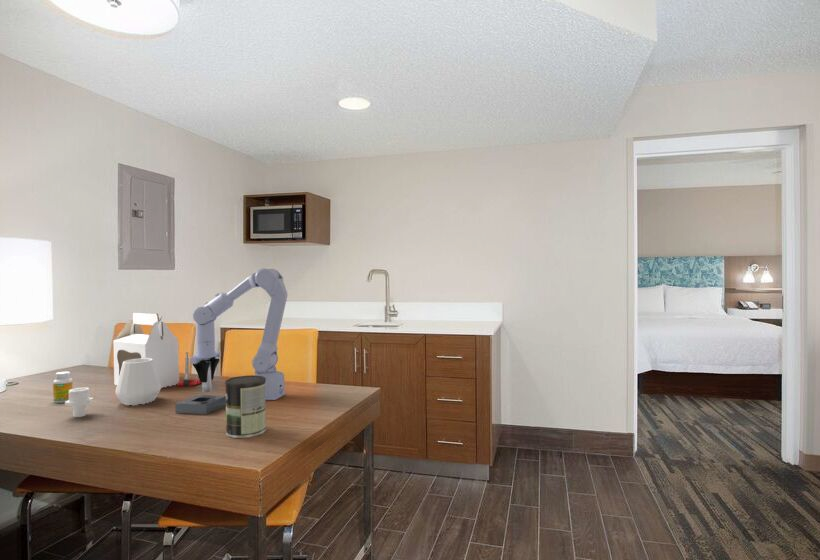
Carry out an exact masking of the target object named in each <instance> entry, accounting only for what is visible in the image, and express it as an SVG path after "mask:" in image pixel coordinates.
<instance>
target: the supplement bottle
mask: <svg viewBox="0 0 820 560" xmlns="http://www.w3.org/2000/svg"><path fill="white" fill-rule="evenodd" d="M70 376H71V372H70V371H58V372H56V373H55V378H56V379H54V380H53V384H52V388H53V389H52V391H53V393H52V394H53V398H52V399H53V403H55V404H60V403H61V404H62V403H65V402H66V401H68V400H69V390H71V389H74V386H73V385H74V383H73V382H74V381H73V380H74V379H73V378H71V377H70Z"/></svg>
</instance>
